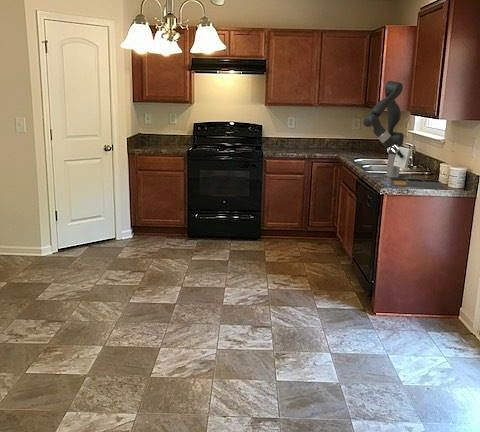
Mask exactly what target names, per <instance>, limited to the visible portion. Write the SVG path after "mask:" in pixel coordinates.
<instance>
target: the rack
mask: <svg viewBox="0 0 480 432" xmlns="http://www.w3.org/2000/svg"><path fill="white" fill-rule="evenodd" d="M387 184H388V185H389V186H390V187H399V188H400V187H401V188H418V189H419V188H420V189H421V188H422V189H435V188H438V190H439V189H440V190H441V189H442V188H443V182H441V181H440V180H439V179H429V178H428V179H425V178H409V177H407V178H405V177H388V182H387Z"/></svg>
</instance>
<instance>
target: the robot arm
mask: <svg viewBox="0 0 480 432" xmlns="http://www.w3.org/2000/svg"><path fill="white" fill-rule="evenodd" d="M403 89H404V85H403V83H402V82H399V81H393V80H388V81H387V82H385V85H384V94H385V95H384V96H385V97H384V98H382V99H381V100H379V101H377V103H376V104H375V106H374V107H373V108H372V109H371V111H370V112H369V113H368V114H366V116H365V117H364V119H363V125H364V127H367V128H370V127H373V130H372V131H373V134H374V135H375V136H376V137H377V139H378V140H379V141H380V143H382V145H383V146H384V147H385V148H388V147H389V150H388V158H387V165H386V166H387V167H386V177H387V178H389V177H390V178H400V169H401V167H397V166H393V165H394V161H395V157H396V153H397V154H398V155H399V156H400V158H402V157H404V156H403V155H402V153H401V152H400V151H399V149H398V147H403V145H404V139H405V138H404V137H405V136H404V133H403V132H399V131H398V132H396V131H394V129H395V127H396V126H397V124H399V122H400V120H401V108H400V106H399V104H398V103H397V101H396V99H397V98H398V97H399V96H400V95H401V93H402V92H403ZM385 110H386V115H387V130H386V129H385V127H384V126H383V125H382V123H381V121H380V119H379V117H381V115H383V113H384V111H385ZM397 151H398V152H397Z"/></svg>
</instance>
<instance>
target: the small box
mask: <svg viewBox="0 0 480 432" xmlns="http://www.w3.org/2000/svg"><path fill="white" fill-rule="evenodd" d="M398 149H399V151H400V152H401V153H402V155H403V156H404V157H402V158H400V156H399V155H398V154H397V153H396V157H395V161H394V165H393V166H397V167H400V169H407V168H408V166H409V162H410V159H411V154H412V151H413V150H412V148H407V147H403V146H402V147H398ZM397 152H398V151H397Z"/></svg>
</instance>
